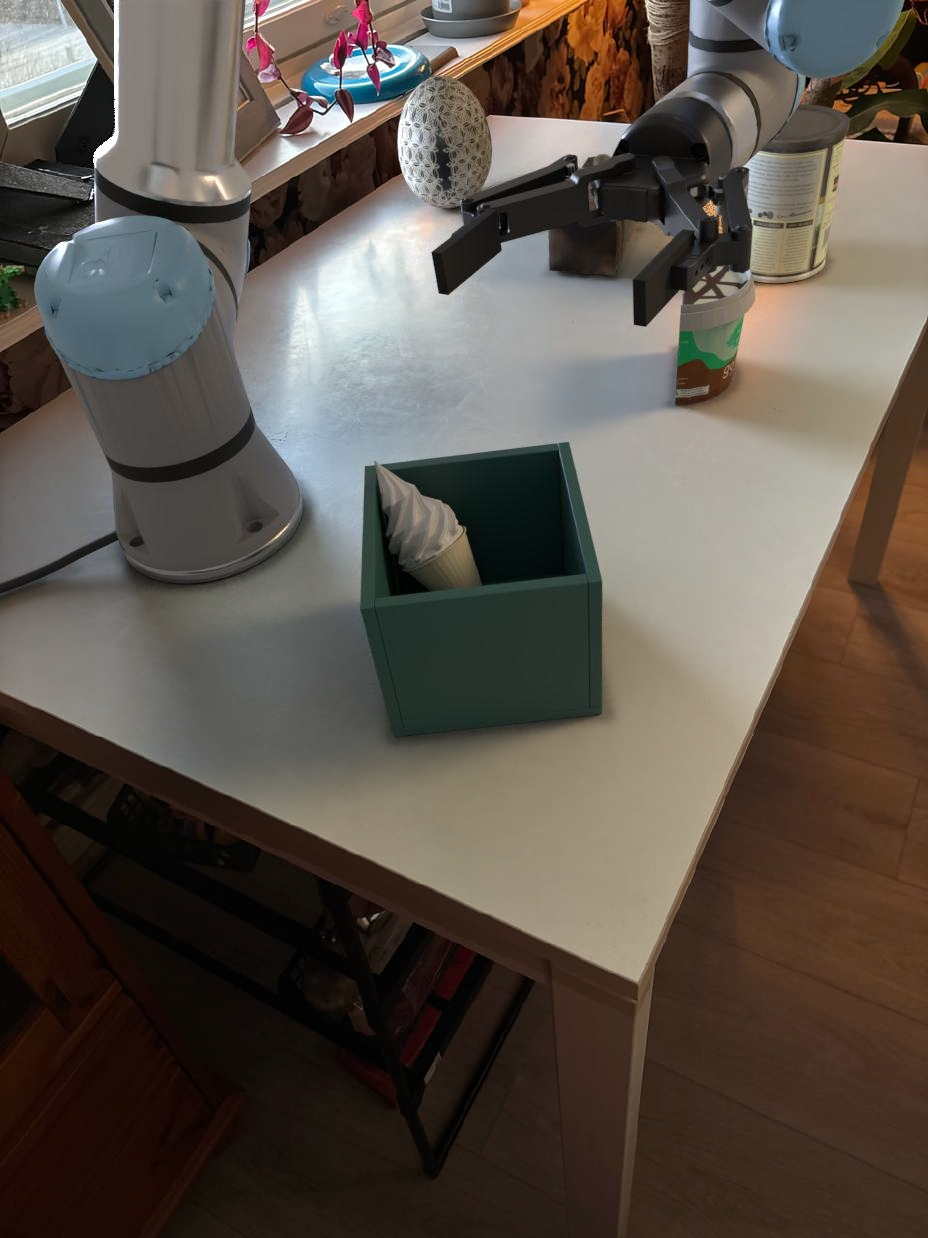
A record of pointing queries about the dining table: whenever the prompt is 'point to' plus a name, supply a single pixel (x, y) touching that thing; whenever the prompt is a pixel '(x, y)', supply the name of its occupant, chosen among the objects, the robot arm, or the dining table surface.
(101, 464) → the dining table surface
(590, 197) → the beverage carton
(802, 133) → the coffee can
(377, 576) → the waste bin
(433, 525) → the ice cream cone
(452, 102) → the decorative egg
